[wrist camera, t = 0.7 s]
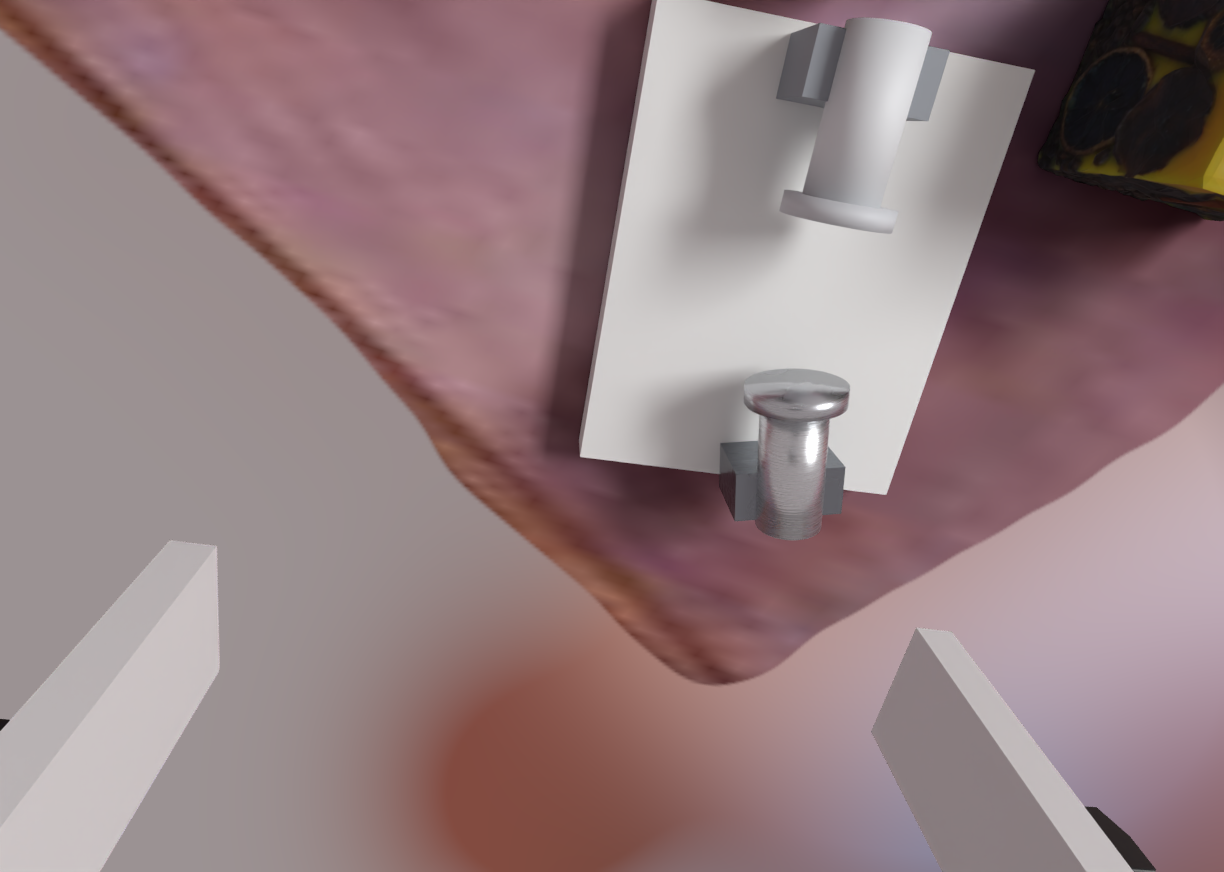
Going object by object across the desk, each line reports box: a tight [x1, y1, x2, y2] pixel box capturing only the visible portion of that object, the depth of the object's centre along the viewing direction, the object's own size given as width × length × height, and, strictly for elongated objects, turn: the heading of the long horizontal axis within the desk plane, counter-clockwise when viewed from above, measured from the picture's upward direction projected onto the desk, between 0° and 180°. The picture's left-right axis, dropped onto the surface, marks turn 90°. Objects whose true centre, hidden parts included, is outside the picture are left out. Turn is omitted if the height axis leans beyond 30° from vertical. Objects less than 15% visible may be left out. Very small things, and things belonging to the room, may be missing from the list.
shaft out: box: [719, 369, 850, 540], centre depth 34 cm, size 7×5×6 cm
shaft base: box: [579, 0, 1035, 495], centre depth 32 cm, size 20×16×8 cm
